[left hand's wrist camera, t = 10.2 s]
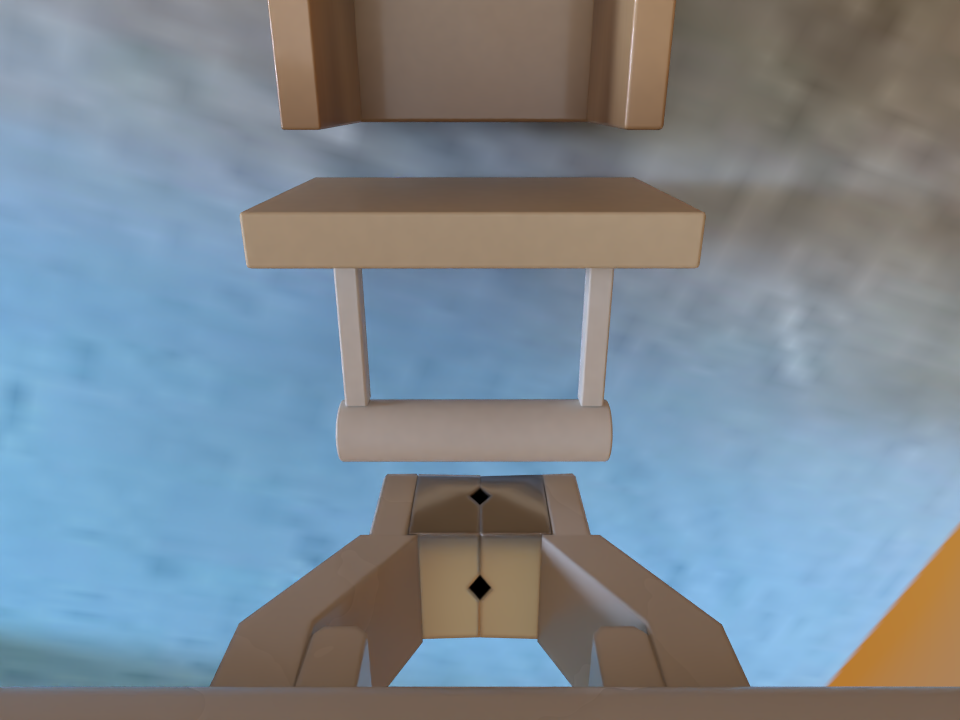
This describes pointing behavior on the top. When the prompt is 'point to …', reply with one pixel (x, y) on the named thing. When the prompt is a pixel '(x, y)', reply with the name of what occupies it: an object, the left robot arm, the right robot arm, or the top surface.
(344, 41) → the drawer
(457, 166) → the top surface
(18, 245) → the top surface
